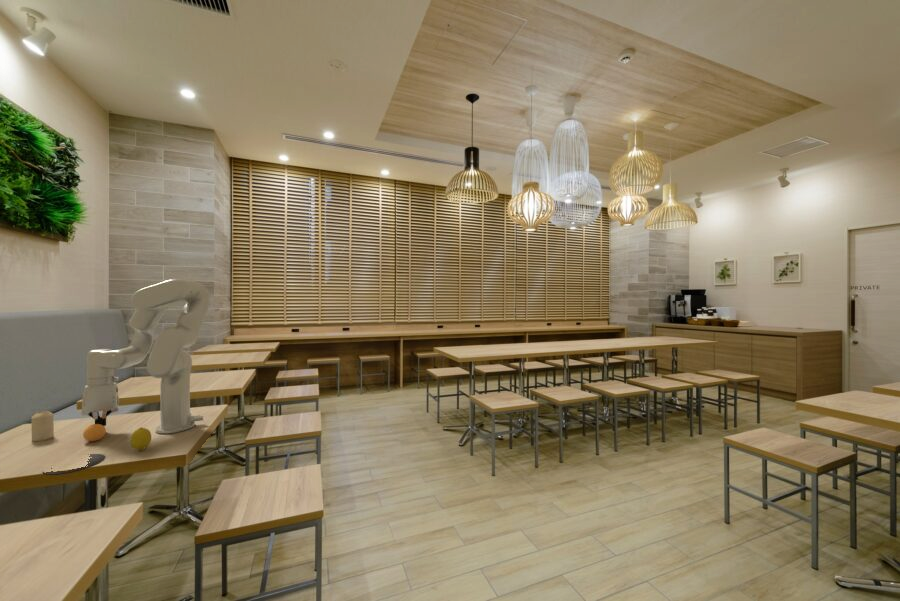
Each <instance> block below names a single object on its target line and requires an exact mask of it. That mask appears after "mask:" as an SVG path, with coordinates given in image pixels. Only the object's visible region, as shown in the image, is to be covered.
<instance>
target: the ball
mask: <svg viewBox="0 0 900 601" xmlns="http://www.w3.org/2000/svg"><path fill="white" fill-rule="evenodd" d="M106 431H107V429H106V426H103V425H101V424H95V423H94V424H91V425H89V426H87V427H86V428H85V429H84V431H83V434H82V435H83V438H84V439H85V441H87V442H97V441H99V440H101V439H102V438H103V437H104V436H105V434H106Z"/></svg>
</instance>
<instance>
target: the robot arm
mask: <svg viewBox="0 0 900 601" xmlns="http://www.w3.org/2000/svg"><path fill="white" fill-rule="evenodd" d="M176 302H185V304H184V305H183V307H182V308H181V310H180V312H179V314H178V318H177V320H176V322H175V324H173V325H171V326H170V325H169V326H167V327H165V328H163V329H162V330H161V331H160V332H159V333H158V335H157V337H155V329H156V327H157V326H158V324H159V322H160V320H161V319H162V317H163V315H164V314H165V312H166V310H167V309H168V307H169V305H170V304H172V303H176ZM210 303H211V296H210V293H209V291H208V289H207V288H206V287H205V285H204V284H202V283H200V282H198V281H196V280H193V279H183V278H180V279H179V278H172V279H168V280H164V281H162V282H158V283H156V284H152V285H149V286H146V287H143V288H141V289H138V290H137V291H135V292H134V293H133V294H132V295H131V298H130V304H131V306H132V307H133V308H134V310H135V311H134V312H133V313H132V315H131V317H130V319H129V321H128V325H129V326H130V328H132V329H133V330H134V335H133V338H132V341H131V342H130V343H129V345H128V347H124V348H123V347H122V348H119V349H115V350H113V349H111V348H99V349H97V348H96V349H91V350H90V351H88V353H87V356H86V357H87V360H86V362H87V364H86V365H87V366H86V370H87V372H86V373H87V375H86V377H87V378H86V385H85V386H84V389H83V393H82V401H81V412H80V413H81V414H80V415H81V416H87V417H88V416H89V417H90V418H92V419H93V420H94V424H101V425H103V426H104V427H106V425H107V418H108V416H109V415H111V414H112V413H116V412H119V411H120V407H119V403H120V398H119V388H118V383H117V381H119V376H115V375H114V374H115V372H114V371H115V370H121V369H126V368H129V367H133V366H136V365H138V364H140V363H141V362H143V361H144V360H145V358H146V357H147V355H148V354H149V352H150V354H149V356H148V359H147V364H146V370H147V372H148V374H149V375H150V376H151V377H153V378H155V379H160V391H159V392H160V425H158V426H157V427H156V428H155V432H156V433H158V434H174V433H175V434H176V433H179V432H184V431H187V430H189V429H191V428H193V427H195V424H196V422H201V421H204V415H200V414H199V415H192V413H191V385H190V384H191V372H192V365H193V360H192V356H191V354H190V353H189V352H188V351H187V350H184V349H186V348H190V347H192V346H193V345H195V343H197V340H198V337H199V335H200V332H201V330H202V327H203V324H204V321H205V318H206V316H207V314H208V310H209V307H210ZM155 338H156V339H155ZM151 348H152V349H151ZM100 412H102V414H101V416H100Z"/></svg>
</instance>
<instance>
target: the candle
mask: <svg viewBox="0 0 900 601" xmlns="http://www.w3.org/2000/svg"><path fill="white" fill-rule="evenodd" d="M30 420H31V441H32V442H40V441H41V442H42V441H46V439H47V440H50V439H52V438H54V435H55V432H54V431H55V429H54V422H55V421H54V413H52V412H51V411H47V410H44V411H41V412H38V411H37V412H36V413H35V414H34V415H33V416H31V419H30ZM51 437H52V438H51ZM49 438H50V439H49Z"/></svg>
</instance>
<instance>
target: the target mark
mask: <svg viewBox="0 0 900 601" xmlns="http://www.w3.org/2000/svg"><path fill="white" fill-rule="evenodd" d="M89 454H90V456H89V457H92V458H90V459H88V460H89V461H87V462H88V464H87V465H88V466H87V465H86V466H87V467H86V466H85V467H81V468H77V469H72V470H68V471H57V472H53V471H51V472H46V473H45V474H44V475H48V476H49V475H51V476H52V475H53V476H54V475H64V474H69V473H74V472H77V471H81V470H82V471H83V470H85V469H88V468H91V467H94V466H95V465H98V464H99V463H102V462H103V461H104V460H105V459H106V455H104V454H101V453H89ZM89 454H88V455H89ZM101 461H102V462H101ZM89 462H90V463H89ZM51 469H52V468H51Z"/></svg>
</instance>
